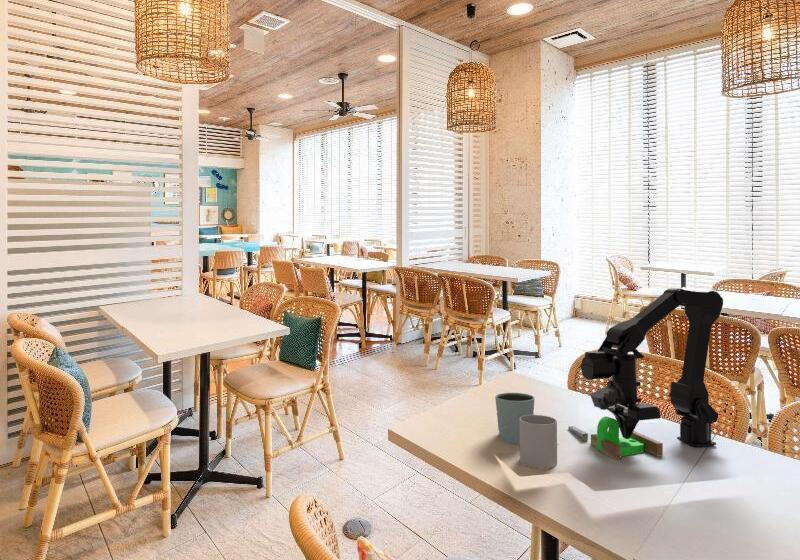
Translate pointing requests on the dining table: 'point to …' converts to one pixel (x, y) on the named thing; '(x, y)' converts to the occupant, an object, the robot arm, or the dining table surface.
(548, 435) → the cup
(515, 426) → the teal tapered tumbler
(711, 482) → the dining table surface
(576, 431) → the u-shaped bracket
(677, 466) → the dining table surface
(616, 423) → the mechanical part
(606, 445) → the beam rails
